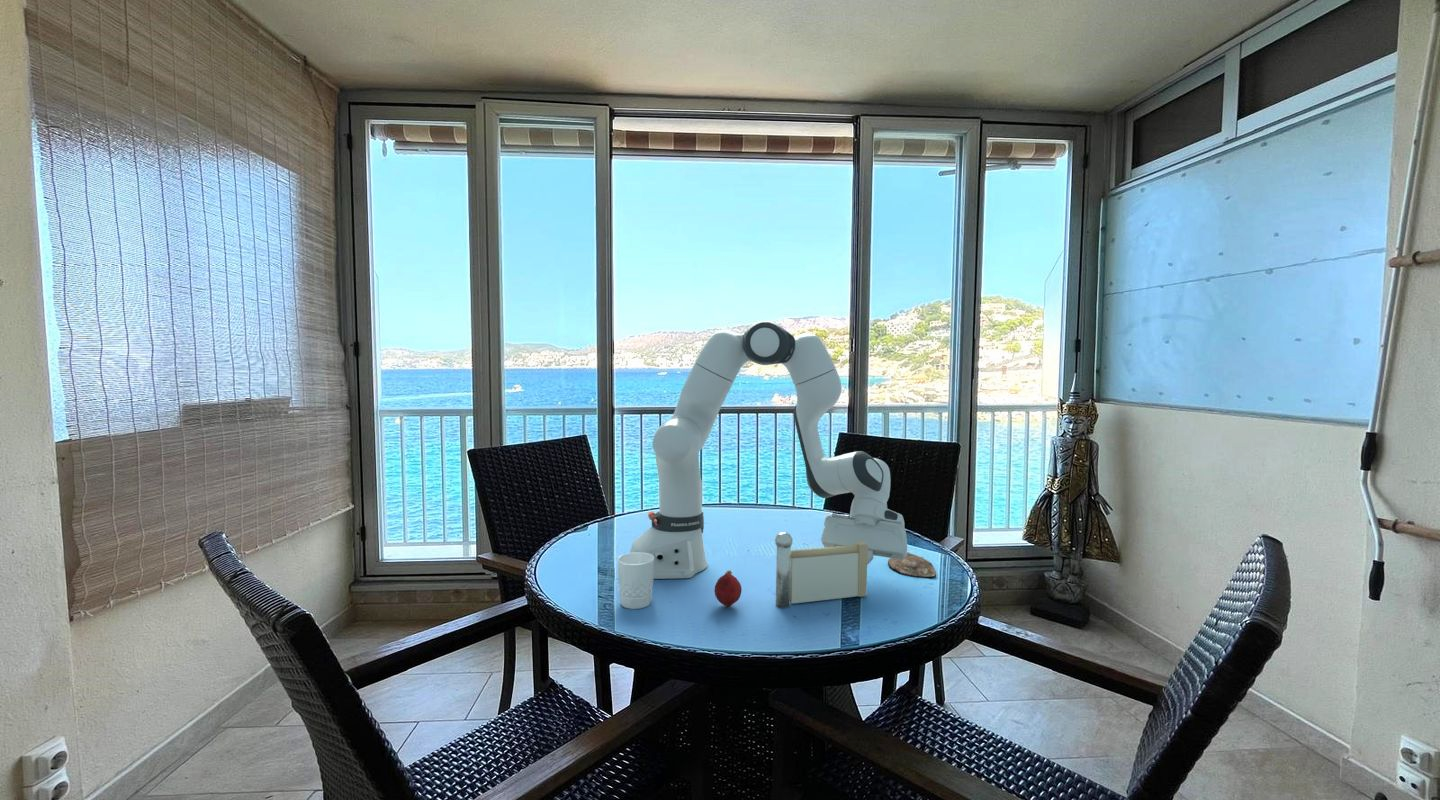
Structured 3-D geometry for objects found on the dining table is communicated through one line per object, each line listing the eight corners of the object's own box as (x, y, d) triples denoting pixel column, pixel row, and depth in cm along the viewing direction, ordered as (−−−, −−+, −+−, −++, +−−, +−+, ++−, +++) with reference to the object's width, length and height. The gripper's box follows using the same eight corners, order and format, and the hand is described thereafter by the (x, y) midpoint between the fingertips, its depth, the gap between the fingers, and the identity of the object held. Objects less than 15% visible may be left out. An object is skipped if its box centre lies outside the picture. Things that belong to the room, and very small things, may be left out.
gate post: (777, 609, 118) (779, 535, 117) (771, 602, 121) (772, 530, 120) (794, 607, 119) (795, 534, 118) (787, 600, 122) (788, 529, 121)
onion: (732, 615, 115) (732, 577, 114) (709, 608, 118) (709, 572, 117) (745, 605, 119) (746, 569, 119) (723, 599, 123) (723, 564, 122)
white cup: (647, 612, 116) (647, 566, 115) (612, 608, 117) (612, 563, 116) (658, 597, 123) (658, 553, 123) (625, 593, 125) (625, 551, 124)
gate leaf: (792, 604, 119) (793, 550, 119) (788, 600, 121) (789, 547, 121) (866, 595, 124) (867, 544, 123) (861, 591, 126) (862, 541, 126)
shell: (888, 575, 139) (888, 562, 138) (887, 559, 151) (887, 546, 151) (937, 580, 135) (937, 566, 135) (932, 563, 148) (932, 550, 147)
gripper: (824, 506, 139) (814, 555, 130) (909, 516, 130) (903, 569, 122) (828, 519, 143) (818, 568, 135) (910, 529, 135) (905, 582, 126)
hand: (859, 568), depth 128 cm, fingers closed
